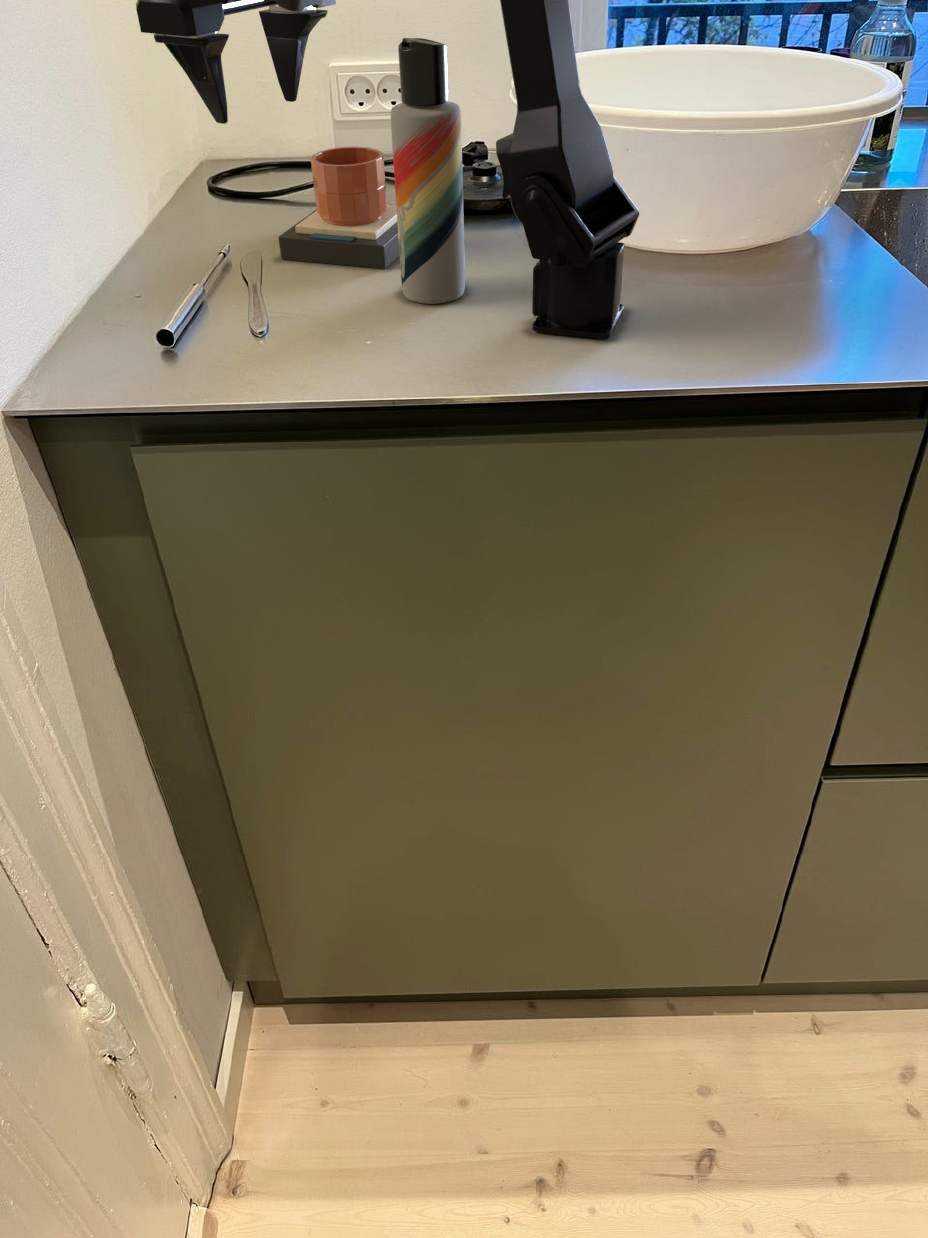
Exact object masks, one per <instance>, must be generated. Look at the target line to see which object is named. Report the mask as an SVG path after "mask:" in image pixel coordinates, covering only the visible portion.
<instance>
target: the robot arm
mask: <svg viewBox="0 0 928 1238" xmlns="http://www.w3.org/2000/svg"><path fill="white" fill-rule="evenodd" d="M499 2H500V7H501V8H500V10H501V15H502V20H503V27H504V33H505V40H506V45H507V51H508V57H509V63H510V69H511V75H512V81H513V87H514V92H515V93H514V95H515V99H516V116H515V119H514V120H515V121H514V126H513V131H512V133H510V134H508V135H506V136H503V137H502V138H499V139H497V140H496V142H495V150H496V152H495V153H496V157H497V159H498V163H499V166H500V170H501V174H502V182H503V187H502V195H501V196H502V198H503V199H507V198H509V199H510V204H511V209H512V210H513V214H514V215H515V217H516V219H517V221H519V222H521V224H522V227H523V230H524V233H525V237H526V241H527V244H528V245H527V246H528V248H529V251H530V254H531V255H530V256H531V257H532V259H534V260H535V259H536V260H537V262H536V263H535V265H534V266H533V267H532V298H531V299H532V301H531V303H532V304H531V306H532V307H531V309H532V310H531V313H532V315H533V316H534V317H536V318H535V320H534V321H533V323H532V331H533V332H537V333H547V334H556V335H566V336H575V337H583V338H593V339H604V340H605V339H610V338H611V337H612V334H613V332H614V331H615V328H616V326H617V325H618V323H619V321H620V318H621V316H622V315H623V314H624V313H623V312H624V309H625V306H624V304H622V303H621V293H622V281H623V268H624V256H625V255H624V254H625V243H623V242H621V241H622V240H623V239H625V238H628V237H630V236H631V235H632V233H633V230H634V228H635V226H636V224H637V221H638V219H639V217H640V209H638V207H637V206H636V205H635V204H634V202H633V201H632V198H631V197H630V196H629V195H628V194H627V192H626V191H625V189H624V188H623V187H622V185H621V184H620V182H619V181H618V179H617V178H616V177H615V175H614V169H613V168H614V167H613V164H612V161H611V157H610V153H609V150H608V146H607V142H606V138H605V135H604V132H603V127H602V126H601V124H600V123H599V121H598V119H597V117H596V115H595V114H594V112H593V111H592V109H591V107H590V105H589V104H588V102H587V101H586V98H585V97H584V94H583V92H582V89H581V83H580V77H579V69H578V62H577V55H576V54H577V53H576V47H575V39H574V31H573V24H572V18H571V16H572V15H571V11H570V2H569V0H499ZM333 5H337V0H137V1H136V3H135V9H136V14H137V19H138V24H139V28H140V33H144V34H153V38H154V39H153V40H154V42H155V43H157V44H164V46H165V47H166V48H167V50H168V51H169V53H170V54H171V55H172V56H173V58H174V59H175V61H176V62H177V63H178V65H179V66H180V67H181V69H182V70H183V72H184V73H185V74H186V76H187V78H188V79H189V81H190V82H191V84H192V86H193V88H195V90H196V92H197V93H198V95H199V97H200V98H201V100H202V101H203V103H204V105H205V106H206V108H207V110H208V111H209V113H210V115H211V116H212V118H213V120H214V121H215V123H217V124H221V125H225V124H228V122H229V115H228V114H229V113H228V100H227V93H226V84H225V77H224V69H223V61H222V53H223V51H224V50H225V47H226V44H227V42H228V40H229V37H230V35H229V34H228V33H220V32H221V31H220V30H221V28H222V26H223V23H224V21H225V16H231V15H234V14H238V13H243V12H248V11H253V10H258V9H262V8H266V7H268V8H267V9H263V10H259V11H258V15H259V18H260V21H261V26H262V29H263V32H264V35H265V39H266V42H267V47H268V50H269V53H270V57H271V60H272V65H273V68H274V71H275V74H276V77H277V81H278V85H279V87H280V89H281V90H280V91H281V93H282V95H283V99H284V100H285V101H286V102H290V103H294V102H296V101H297V98H298V93H299V87H300V81H301V76H302V70H303V69H302V68H303V65H304V57H305V54H306V48H307V44H308V40H309V38H310V37H309V36H310V34H311V32H312V31H313V30H314V29H315V27H316V26H317V25H318V23H319V22H320V20H323V18H326V17H327V15H328V12H329V10H327V9H321V8H325V7H330V6H333ZM218 32H219V33H218Z"/></svg>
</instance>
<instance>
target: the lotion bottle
mask: <svg viewBox="0 0 928 1238" xmlns="http://www.w3.org/2000/svg"><path fill="white" fill-rule="evenodd" d="M397 51H398V66H399V67H398V68H399V82H400V97H401V98H400V99H401V103H398V104H396V105H394V106H392V108H391V109H390V127H391V128H390V131H391V145H392V161H393V162H392V163H393V173H394V174H393V176H394V190H395V191H394V192H395V193H394V194H395V205H396V208H397V223H398V238H399V253H400V256H399V265H400V266H399V268H400V279H401V280H400V281H401V290H402V294H403V296H404V297H405V298H406V299H407V300H409V301H411V302H414V303H418V304H425V305H427V304H428V305H432V304H433V305H435V304H436V305H437V304H444V303H449V302H452V301H454V300H458V299H459V298H460V297H462V296H463V295H464V293H465V290H466V289H465V288H466V262H465V261H466V258H465V255H466V254H465V223H464V221H465V217H464V181H463V180H464V179H463V177H464V176H463V175H464V173H463V138H462V137H463V134H462V111H461V107H460V105H459V104H457V103H455V102H453V101H449V99H450V98H449V95H450V93H449V92H450V91H449V63H448V60H449V59H448V57H449V56H448V45H447V44H445V43H442V42H439V41H435V40H433V39H428V38H421V37H412V38H411V37H403V38H402V39H401V42H400V43H399V44H398V47H397Z"/></svg>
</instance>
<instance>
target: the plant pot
mask: <svg viewBox="0 0 928 1238" xmlns="http://www.w3.org/2000/svg"><path fill="white" fill-rule="evenodd" d="M310 165H311V174H312V175H311V176H312V183H313V190H314V198H315V199H314V200H315V207H316V209H317V214H318V215H319V216H320V217H321V219H322V220H323V221H324V222H326V223H329V224H333V225H340V226H356V225H364V224H368V223H372V222H375V221H377V220H379V219H381V218H382V217H383V216H384V213H385V212H386V210H387V205H388V202H387V188H386V176H385V175H386V174H385V173H386V171H385V159H384V153H383V152H382V151H381V150H379V149H375V148H373V147H365V146H341V147H333V148H328V149H323V150H320V151H318V152H316V153H314V154H312V155H311V157H310Z"/></svg>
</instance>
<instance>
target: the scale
mask: <svg viewBox="0 0 928 1238" xmlns="http://www.w3.org/2000/svg"><path fill="white" fill-rule="evenodd" d="M278 244H279V252H280V259H281V260H287V261H288V260H289V261H297V262H305V263H307V262H308V263H317V264H318V263H319V264H327V265H328V264H329V265H337V266H339V265H340V266H347V267H348V266H349V267H360V268H370V269H380V270H381V269H382V270H386V269H387V268H388V267H389V266H390V265H391V264H392V263H394V261H395V260H396V259H398V258H399V257H400V253H399V238H398V223H397V208H396V204H387V210H386V212H385V213H384V216H383V217H382V218H381V219H379V220H377V221H375V222H372V223H368V224H364V225H356V226H340V225H333V224H329V223H326V222H324V221H323V220H322V219H321V217H320V216H319V215H318V214H317V208H316V209H315V210H313V211H312V212H311V213H309V214H307V215H306V216H305V217H304V218H302V219H301V220H300V221H298V222H297V223H295V224H294V225H293V226H291V227H290V228H288V229H287V230H286V231H284V232H283V233H282V234H280V235H278Z"/></svg>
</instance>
